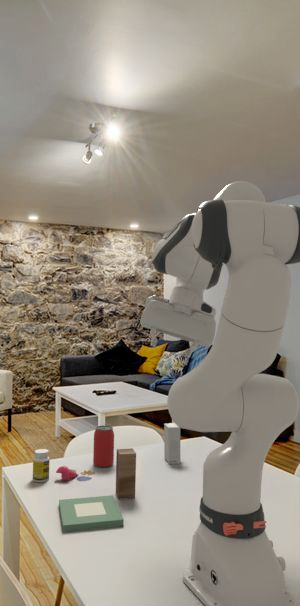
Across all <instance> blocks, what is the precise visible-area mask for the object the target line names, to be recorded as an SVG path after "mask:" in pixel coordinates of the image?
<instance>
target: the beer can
mask: <svg viewBox="0 0 300 606" xmlns="http://www.w3.org/2000/svg"><path fill="white" fill-rule="evenodd" d="M93 433H94V434H93V455H92V458H93V461H92V462H93V465H94V466H95V467H97V468H109V467H111V466H113V464H114V460H115V459H114V458H115V455H114V454H115V452H114V451H115V432H114V428H113V427H112V425H111V426H110V425H97V426H96V427H95V430H94V432H93Z"/></svg>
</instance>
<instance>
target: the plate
mask: <svg viewBox="0 0 300 606" xmlns="http://www.w3.org/2000/svg"><path fill="white" fill-rule="evenodd" d="M58 508H59V514H60V520H61V528H62V529H61V530H62V533H65V532H67V533H68V532H76V531H77V532H78V531H85V530H86V531H88V530H96V529H104V528H116V527H124V520H125V519H124V517H123V516H122V512H121V511H120V508H119V506H118V504H117V502H116V499H115V497H114V495H100V496H99V495H98V496H89V497H88V496H87V497H79V498H78V497H77V498H67V499H66V498H64V499H58Z"/></svg>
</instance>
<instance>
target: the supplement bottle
mask: <svg viewBox="0 0 300 606" xmlns="http://www.w3.org/2000/svg"><path fill="white" fill-rule="evenodd" d="M49 452H50V451H49V449H46V448H39V449H35V450H34V457H33V459H32V481H33V482H36V483H45V482H47V481H49V479H50V460H51V459H50V457H49Z"/></svg>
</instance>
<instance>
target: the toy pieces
mask: <svg viewBox="0 0 300 606" xmlns="http://www.w3.org/2000/svg"><path fill="white" fill-rule="evenodd" d="M55 473H56V474H61V476H60V477H61V481H64V482H68V481H69V480H72V479H74V478H76V480H77V482H87V481H90V480H92V479H93V477H90V476H92V475H95V473H96V472H95V471H93V470H88V469H87V470H83V471H81V472H80V475H79V474H78V473H77V470H76V469H72V468H69V467H68V466H66V465H63V466H60V467H58V468H57V470H55ZM86 475H87V476H86Z"/></svg>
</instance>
